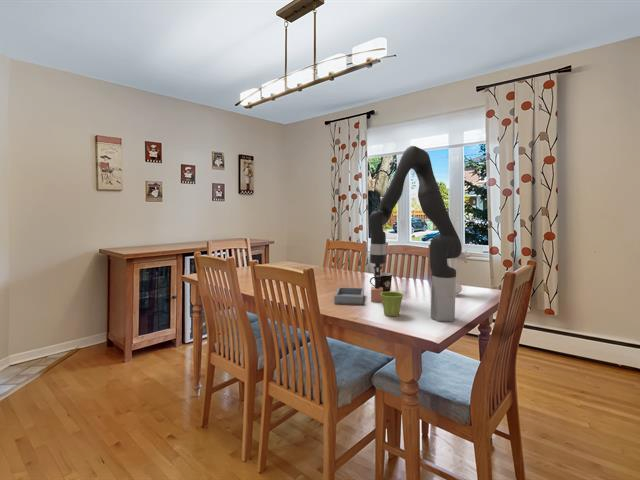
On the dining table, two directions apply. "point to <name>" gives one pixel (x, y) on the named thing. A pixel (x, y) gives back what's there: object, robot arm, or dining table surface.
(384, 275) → the coffee mug
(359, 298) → the gray tray
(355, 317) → the dining table surface
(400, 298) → the plant pot
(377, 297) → the terracotta block
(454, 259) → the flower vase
